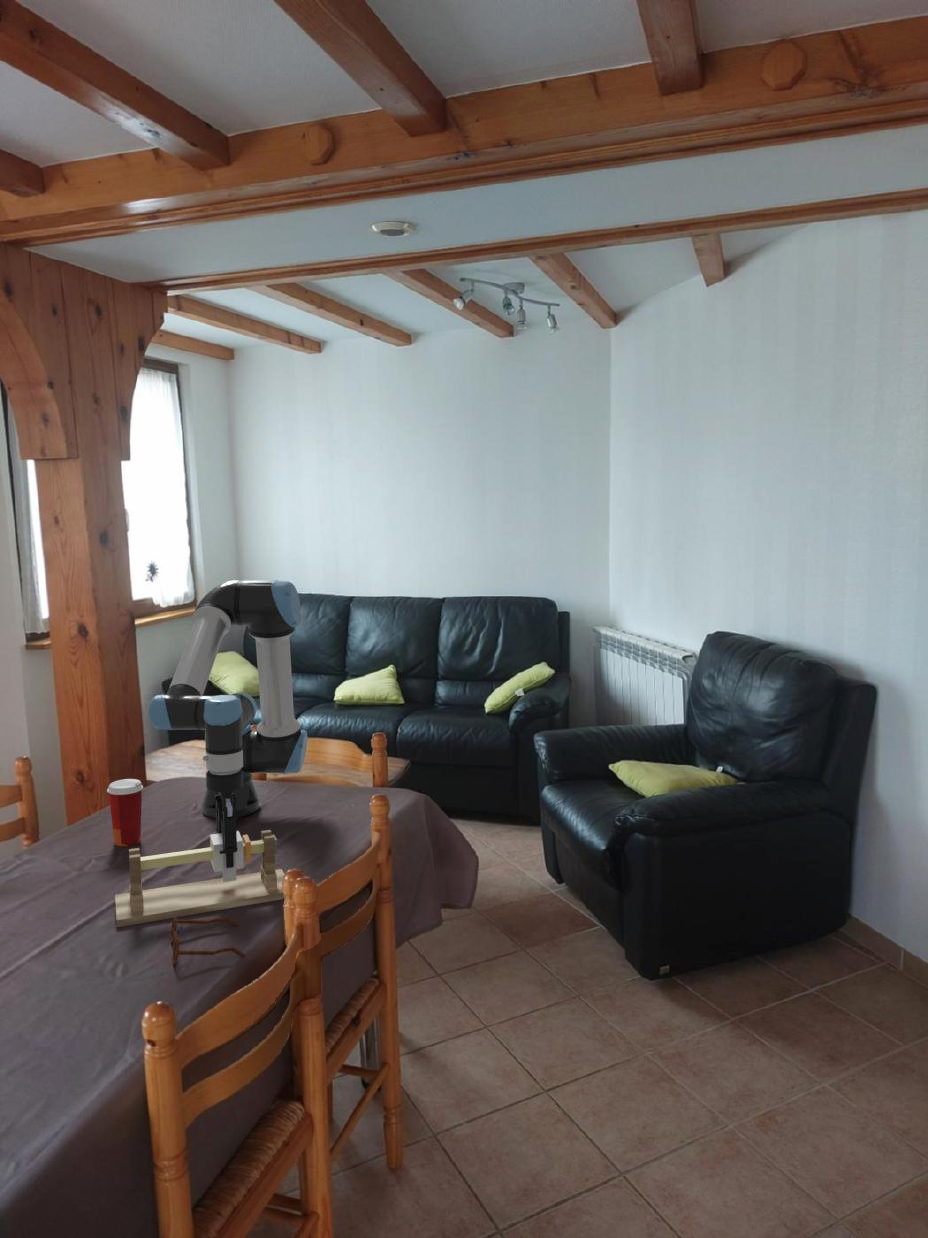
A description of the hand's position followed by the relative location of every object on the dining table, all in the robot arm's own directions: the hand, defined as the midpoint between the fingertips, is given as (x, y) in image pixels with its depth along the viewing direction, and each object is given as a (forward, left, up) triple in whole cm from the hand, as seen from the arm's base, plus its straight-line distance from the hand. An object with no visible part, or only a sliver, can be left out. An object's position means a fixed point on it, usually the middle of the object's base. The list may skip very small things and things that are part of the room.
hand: (227, 874), depth 184 cm
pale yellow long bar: (0, -4, +3) cm, 5 cm away
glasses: (+20, -7, -6) cm, 22 cm away
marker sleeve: (0, 0, +2) cm, 2 cm away
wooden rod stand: (0, -5, -5) cm, 7 cm away
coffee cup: (-39, -19, -5) cm, 44 cm away
